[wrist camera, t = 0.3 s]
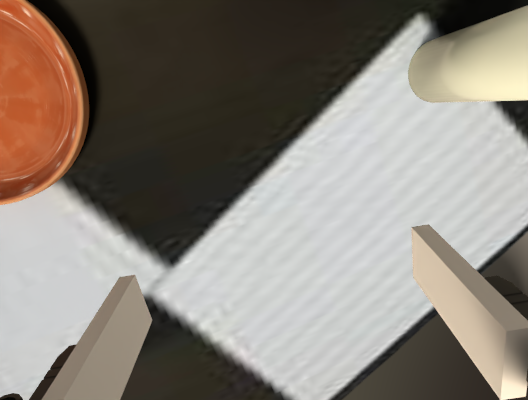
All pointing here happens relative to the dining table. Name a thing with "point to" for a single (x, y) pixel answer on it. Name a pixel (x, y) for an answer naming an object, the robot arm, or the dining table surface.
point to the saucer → (37, 102)
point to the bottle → (475, 62)
